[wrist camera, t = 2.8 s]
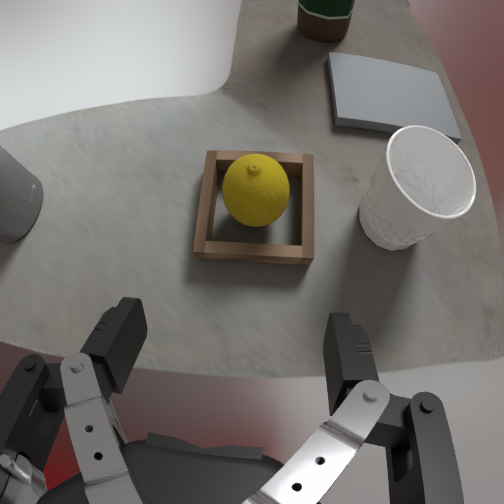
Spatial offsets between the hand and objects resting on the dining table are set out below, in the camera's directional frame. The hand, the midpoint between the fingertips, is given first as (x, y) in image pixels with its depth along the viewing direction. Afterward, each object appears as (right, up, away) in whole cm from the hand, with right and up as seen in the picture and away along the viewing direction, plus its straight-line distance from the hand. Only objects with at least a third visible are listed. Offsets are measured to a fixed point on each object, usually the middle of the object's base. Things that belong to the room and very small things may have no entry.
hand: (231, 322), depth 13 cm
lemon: (+1, +7, +17) cm, 18 cm away
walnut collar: (+1, +7, +17) cm, 18 cm away
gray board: (+18, +22, +21) cm, 35 cm away
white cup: (+14, +6, +16) cm, 23 cm away
